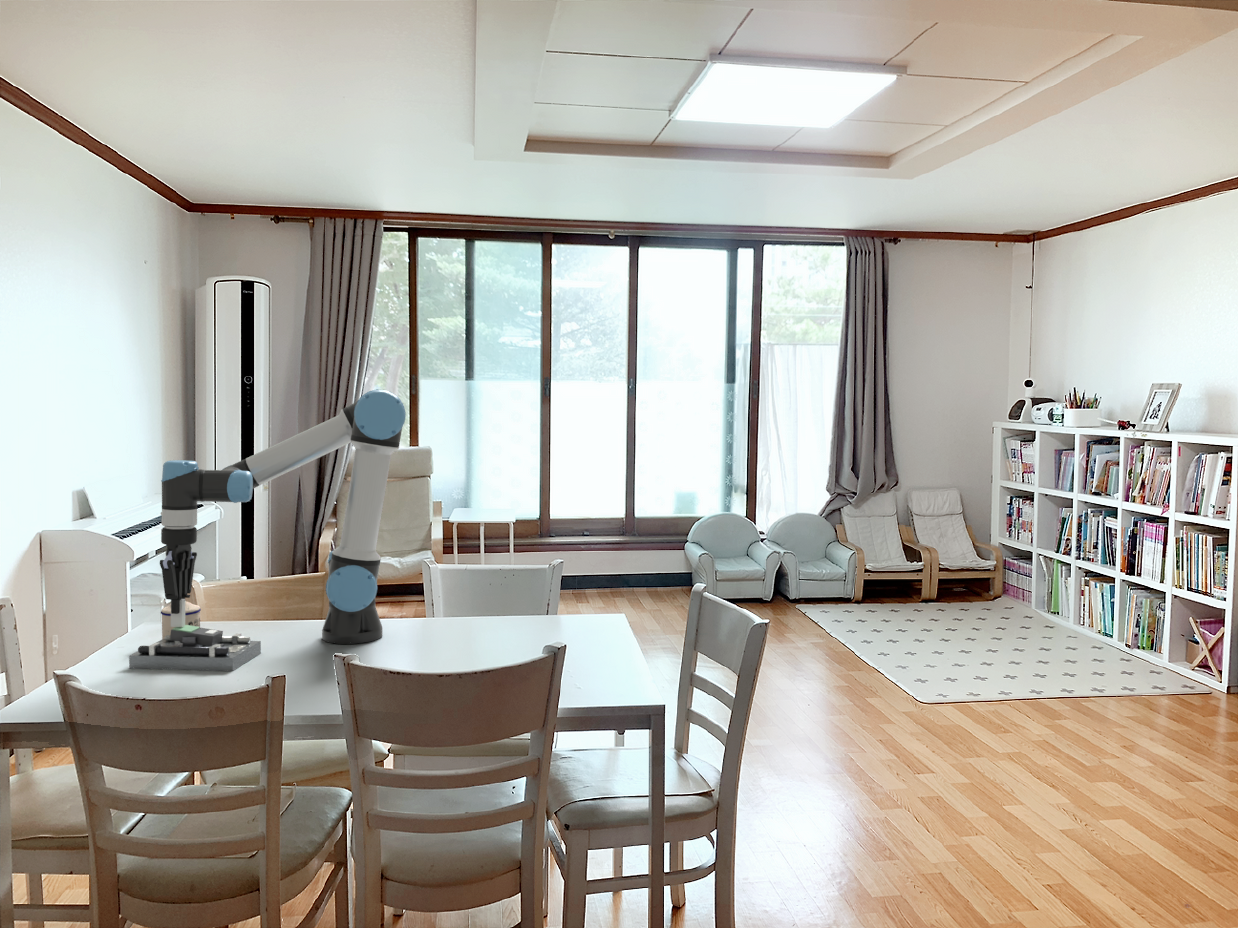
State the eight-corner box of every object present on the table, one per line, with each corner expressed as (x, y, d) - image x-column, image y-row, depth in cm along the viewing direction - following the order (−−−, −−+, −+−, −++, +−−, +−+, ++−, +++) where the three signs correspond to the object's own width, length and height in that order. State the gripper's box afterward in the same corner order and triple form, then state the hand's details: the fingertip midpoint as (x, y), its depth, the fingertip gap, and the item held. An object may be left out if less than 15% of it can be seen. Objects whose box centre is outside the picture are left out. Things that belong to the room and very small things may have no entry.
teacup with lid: (189, 649, 229) (188, 602, 229) (153, 648, 230) (152, 601, 229) (213, 637, 241) (213, 592, 241) (179, 636, 242) (178, 591, 241)
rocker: (221, 640, 222) (223, 629, 222) (211, 646, 217) (213, 635, 217) (180, 634, 222) (182, 623, 222) (169, 640, 217) (171, 628, 217)
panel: (260, 653, 227) (260, 626, 226) (232, 670, 212) (232, 642, 211) (163, 650, 228) (163, 624, 227) (129, 668, 213) (128, 640, 212)
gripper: (177, 522, 224) (176, 618, 226) (148, 529, 211) (147, 632, 213) (208, 523, 224) (206, 620, 226) (180, 531, 211) (179, 633, 213)
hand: (177, 626), depth 219 cm, fingers closed
